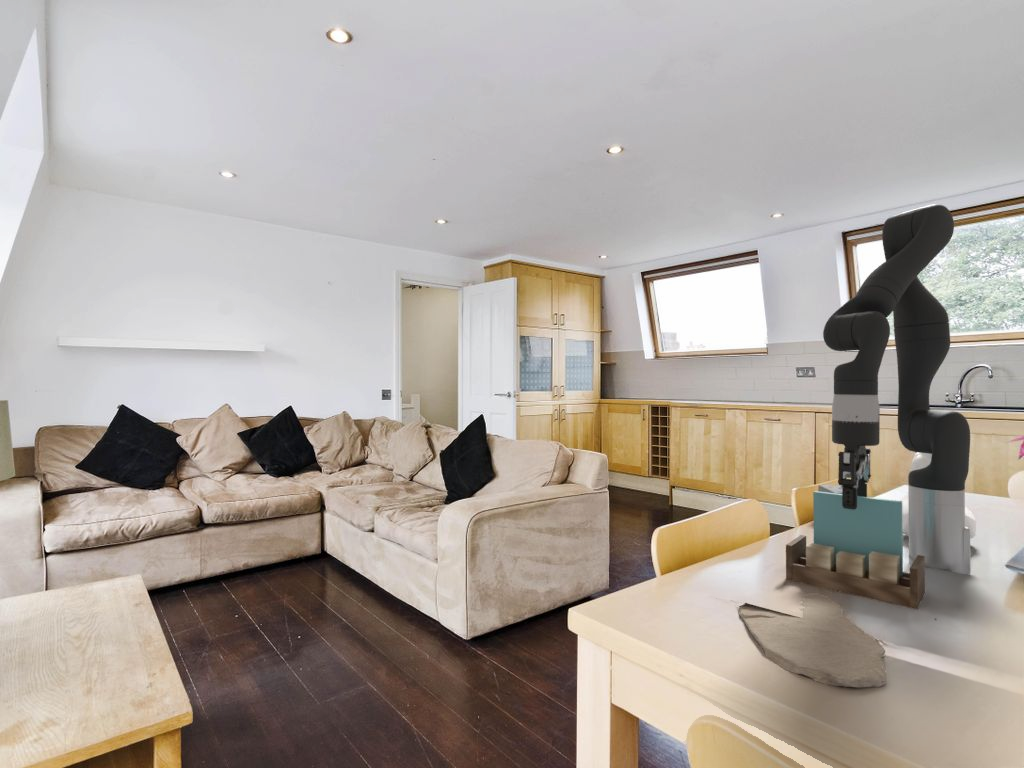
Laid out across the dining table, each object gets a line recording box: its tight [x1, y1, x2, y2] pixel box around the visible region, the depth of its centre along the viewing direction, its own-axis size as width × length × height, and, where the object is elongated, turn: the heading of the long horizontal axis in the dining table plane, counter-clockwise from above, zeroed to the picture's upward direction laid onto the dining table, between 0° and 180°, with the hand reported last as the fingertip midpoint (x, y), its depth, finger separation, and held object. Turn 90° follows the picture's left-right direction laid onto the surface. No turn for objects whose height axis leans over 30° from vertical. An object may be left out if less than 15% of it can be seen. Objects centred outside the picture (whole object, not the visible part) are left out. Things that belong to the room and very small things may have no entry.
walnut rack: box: [785, 534, 926, 610], centre depth 98 cm, size 20×10×8 cm, turn 46°
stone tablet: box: [737, 592, 887, 689], centre depth 81 cm, size 16×30×2 cm, turn 168°
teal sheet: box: [812, 490, 904, 577], centre depth 100 cm, size 14×1×16 cm, turn 46°
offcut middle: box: [836, 551, 866, 578], centre depth 96 cm, size 4×3×6 cm
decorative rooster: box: [899, 452, 977, 539], centre depth 135 cm, size 25×16×25 cm, turn 138°
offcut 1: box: [806, 542, 834, 572], centre depth 100 cm, size 4×3×6 cm
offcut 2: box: [869, 551, 900, 585], centre depth 93 cm, size 4×3×7 cm
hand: (854, 505), depth 100 cm, fingers open, 8 cm apart
